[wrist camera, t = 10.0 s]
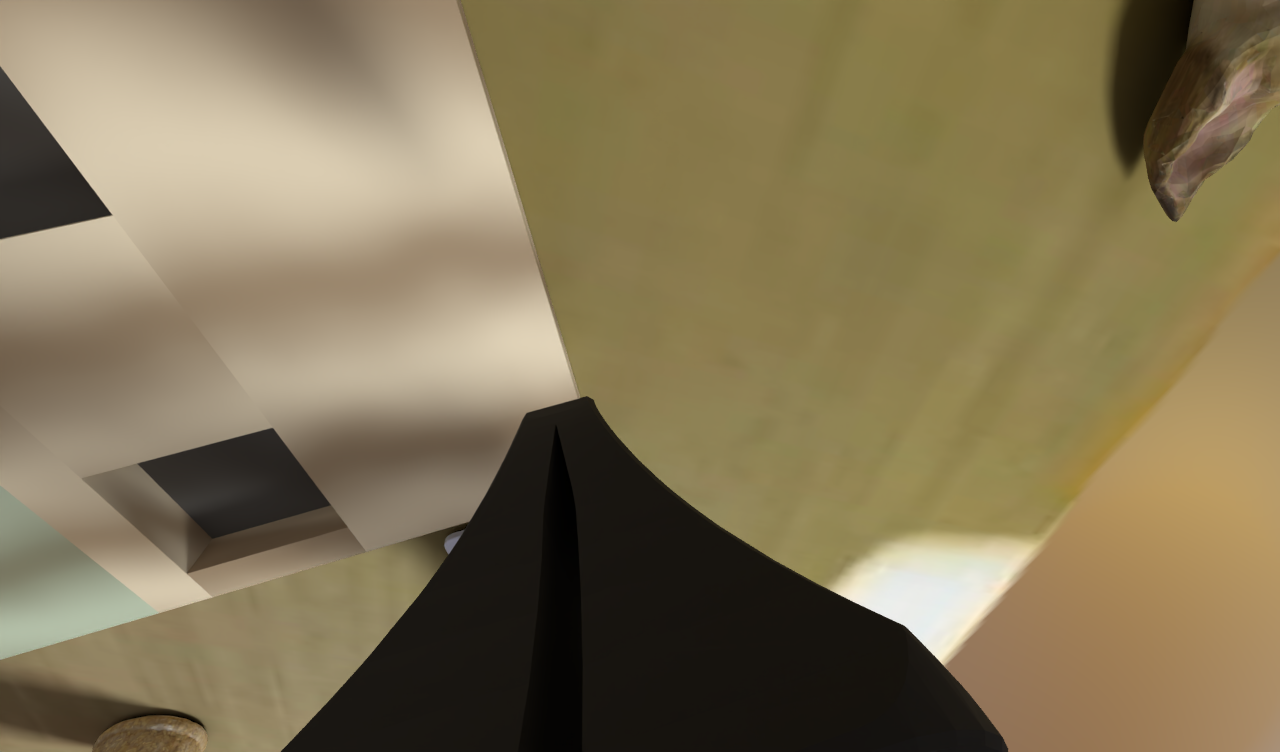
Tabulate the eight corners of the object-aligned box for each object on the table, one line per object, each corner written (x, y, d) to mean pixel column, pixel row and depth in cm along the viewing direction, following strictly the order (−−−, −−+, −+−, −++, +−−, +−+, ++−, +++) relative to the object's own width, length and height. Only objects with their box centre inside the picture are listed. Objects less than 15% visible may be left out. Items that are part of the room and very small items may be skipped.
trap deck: (597, 453, 22) (611, 516, 18) (-14, 628, 19) (-131, 740, 16) (410, -168, 11) (360, -292, 8) (-971, 42, 9) (-1931, -8, 5)
